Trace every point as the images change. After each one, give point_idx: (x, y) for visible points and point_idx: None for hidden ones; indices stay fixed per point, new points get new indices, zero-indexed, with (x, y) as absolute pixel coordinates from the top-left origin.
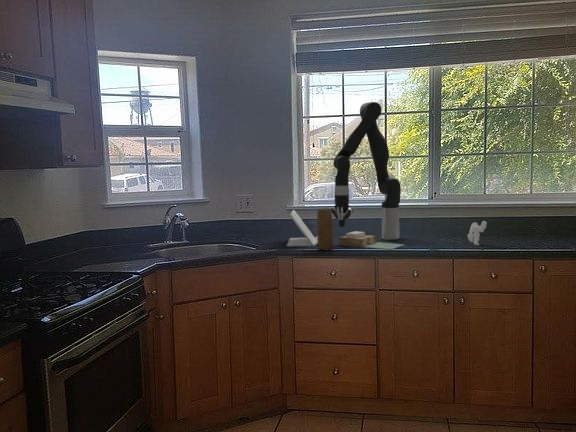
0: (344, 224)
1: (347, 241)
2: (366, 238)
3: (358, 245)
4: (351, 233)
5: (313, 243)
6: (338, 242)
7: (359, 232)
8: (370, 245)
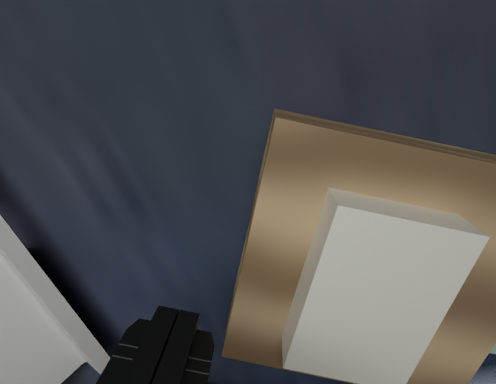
0: (209, 362)
1: None
2: (490, 345)
3: None
4: (342, 360)
5: (56, 334)
6: (227, 322)
7: (420, 283)
8: None
